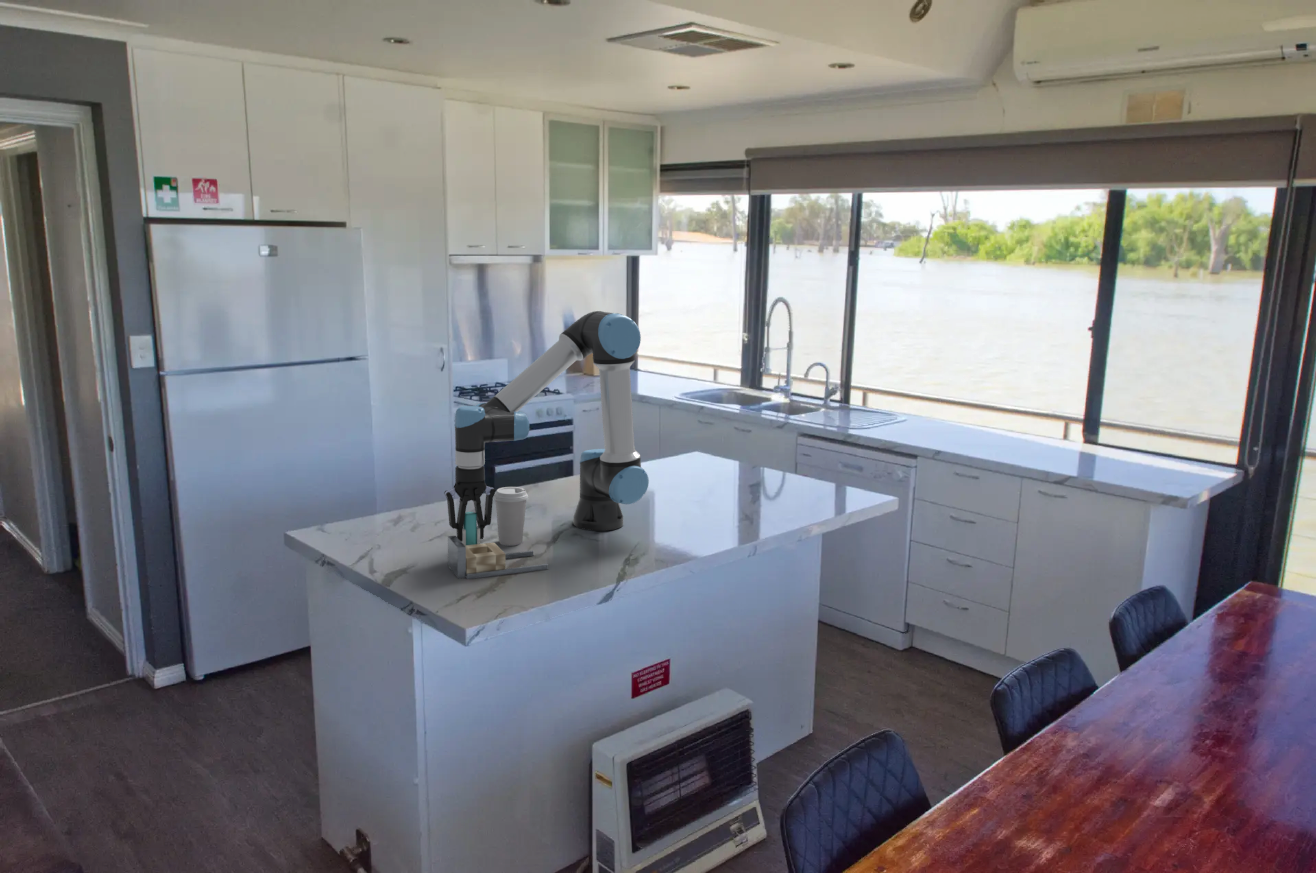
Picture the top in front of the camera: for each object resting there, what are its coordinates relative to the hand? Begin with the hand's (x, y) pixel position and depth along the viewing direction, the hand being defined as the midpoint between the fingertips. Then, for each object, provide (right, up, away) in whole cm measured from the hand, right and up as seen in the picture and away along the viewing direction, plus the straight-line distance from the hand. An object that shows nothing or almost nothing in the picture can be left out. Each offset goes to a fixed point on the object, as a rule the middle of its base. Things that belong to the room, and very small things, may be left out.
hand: (470, 551), depth 247 cm
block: (+4, -3, -8) cm, 10 cm away
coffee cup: (+8, +1, +14) cm, 17 cm away
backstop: (+8, -3, -7) cm, 11 cm away
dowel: (0, -2, 0) cm, 2 cm away
